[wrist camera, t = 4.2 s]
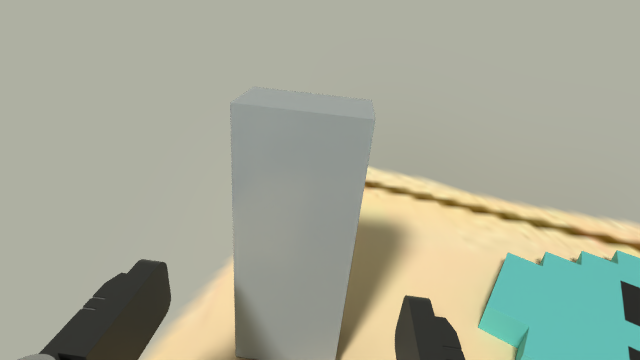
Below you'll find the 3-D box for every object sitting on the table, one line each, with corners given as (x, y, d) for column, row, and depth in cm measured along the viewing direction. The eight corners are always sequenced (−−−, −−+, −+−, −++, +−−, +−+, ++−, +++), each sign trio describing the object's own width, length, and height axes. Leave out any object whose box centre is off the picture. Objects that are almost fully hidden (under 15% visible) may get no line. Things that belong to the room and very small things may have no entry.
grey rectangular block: (336, 323, 20) (371, 99, 14) (333, 371, 17) (375, 119, 12) (251, 311, 20) (253, 86, 14) (235, 356, 17) (230, 102, 12)
